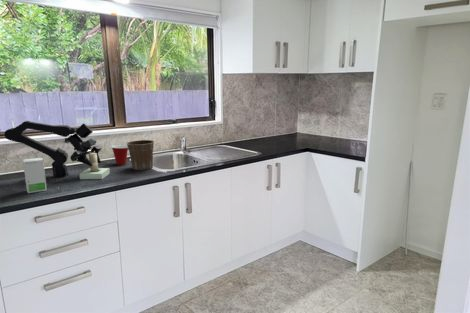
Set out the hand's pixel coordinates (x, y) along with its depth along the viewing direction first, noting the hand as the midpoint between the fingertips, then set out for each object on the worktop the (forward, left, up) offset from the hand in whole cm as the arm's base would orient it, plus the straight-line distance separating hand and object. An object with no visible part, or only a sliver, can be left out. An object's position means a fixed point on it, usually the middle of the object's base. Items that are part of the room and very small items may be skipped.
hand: (96, 164), depth 182 cm
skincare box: (-20, -24, -7) cm, 32 cm away
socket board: (-1, 0, -7) cm, 7 cm away
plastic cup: (+5, +28, -7) cm, 30 cm away
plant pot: (+21, +17, -7) cm, 28 cm away
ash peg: (-1, 0, -7) cm, 7 cm away
